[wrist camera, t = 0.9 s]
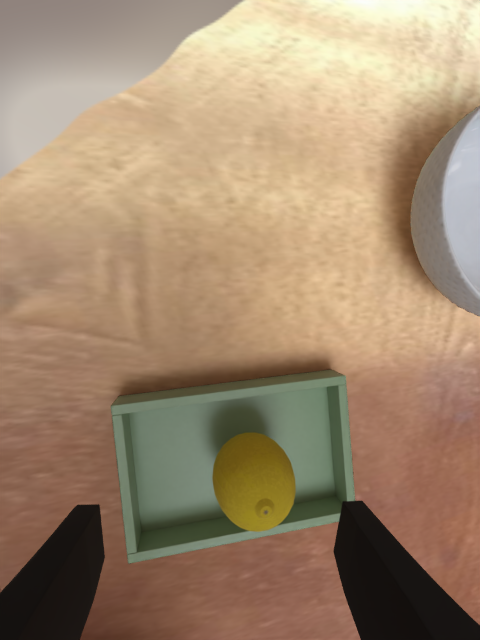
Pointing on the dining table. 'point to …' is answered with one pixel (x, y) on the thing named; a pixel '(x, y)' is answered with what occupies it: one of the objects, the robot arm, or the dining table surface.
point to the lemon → (254, 481)
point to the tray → (206, 441)
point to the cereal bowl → (451, 214)
